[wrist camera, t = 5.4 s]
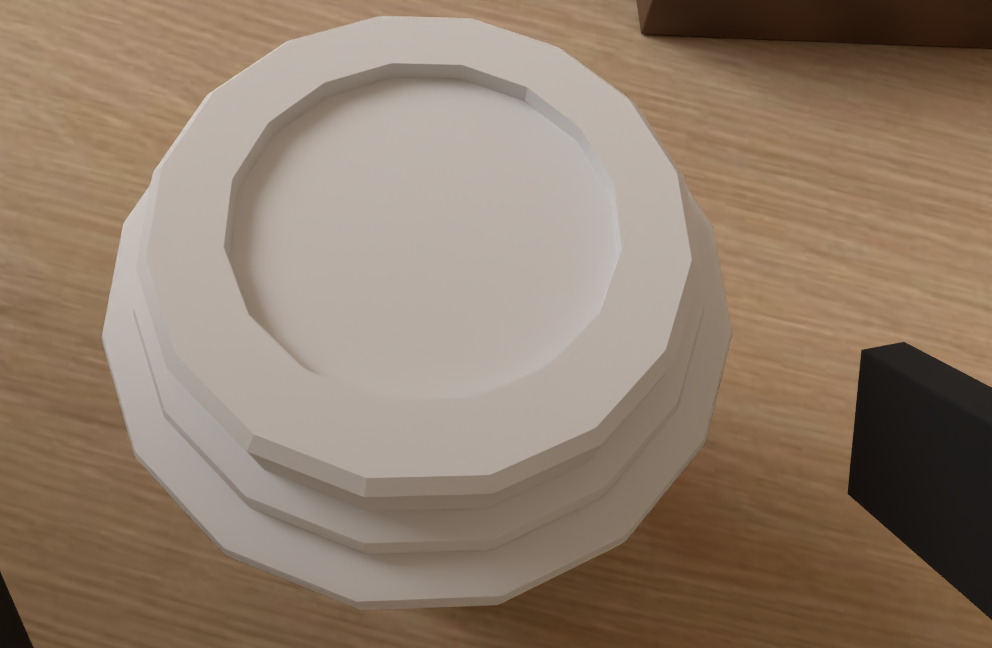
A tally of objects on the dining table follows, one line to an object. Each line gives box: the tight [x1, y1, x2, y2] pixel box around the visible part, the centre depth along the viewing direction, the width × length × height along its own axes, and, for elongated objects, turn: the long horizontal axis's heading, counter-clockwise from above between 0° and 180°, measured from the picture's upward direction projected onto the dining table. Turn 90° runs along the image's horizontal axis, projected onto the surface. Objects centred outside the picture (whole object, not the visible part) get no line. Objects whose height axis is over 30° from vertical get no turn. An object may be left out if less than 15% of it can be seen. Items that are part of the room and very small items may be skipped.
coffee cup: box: [102, 16, 732, 611], centre depth 15 cm, size 9×9×12 cm
